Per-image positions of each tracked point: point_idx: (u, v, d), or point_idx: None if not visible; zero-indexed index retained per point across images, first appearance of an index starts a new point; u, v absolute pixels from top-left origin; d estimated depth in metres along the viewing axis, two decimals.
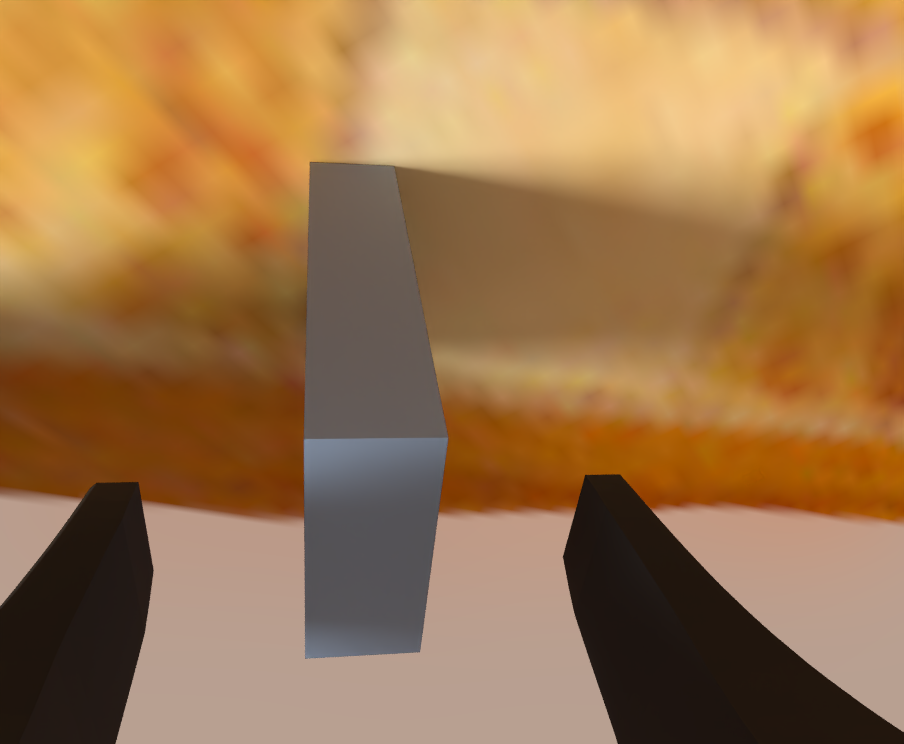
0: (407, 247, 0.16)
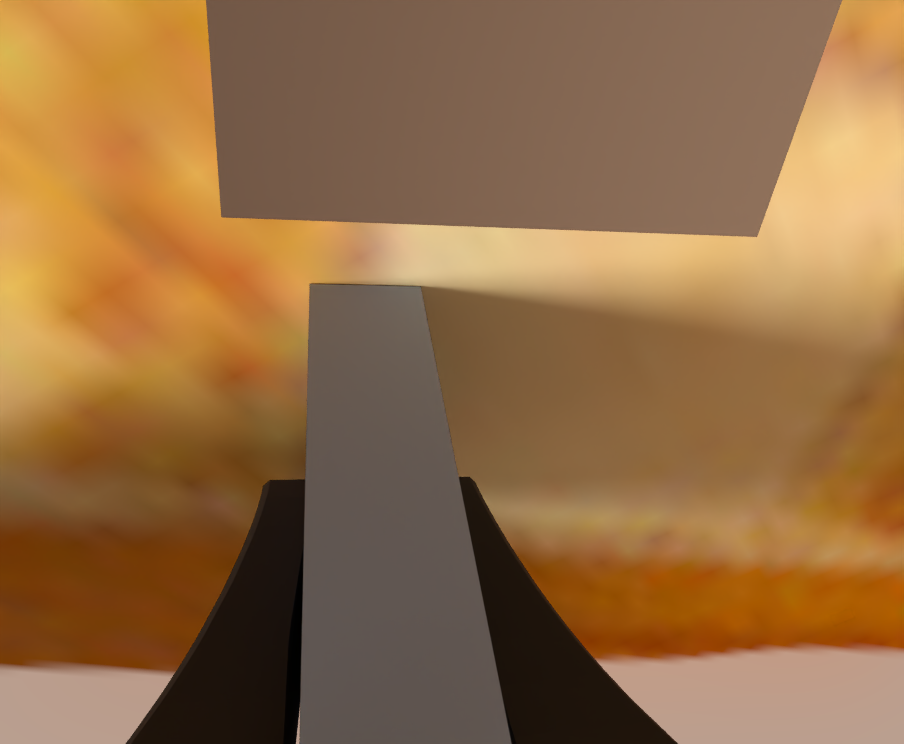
0: (446, 437, 0.11)
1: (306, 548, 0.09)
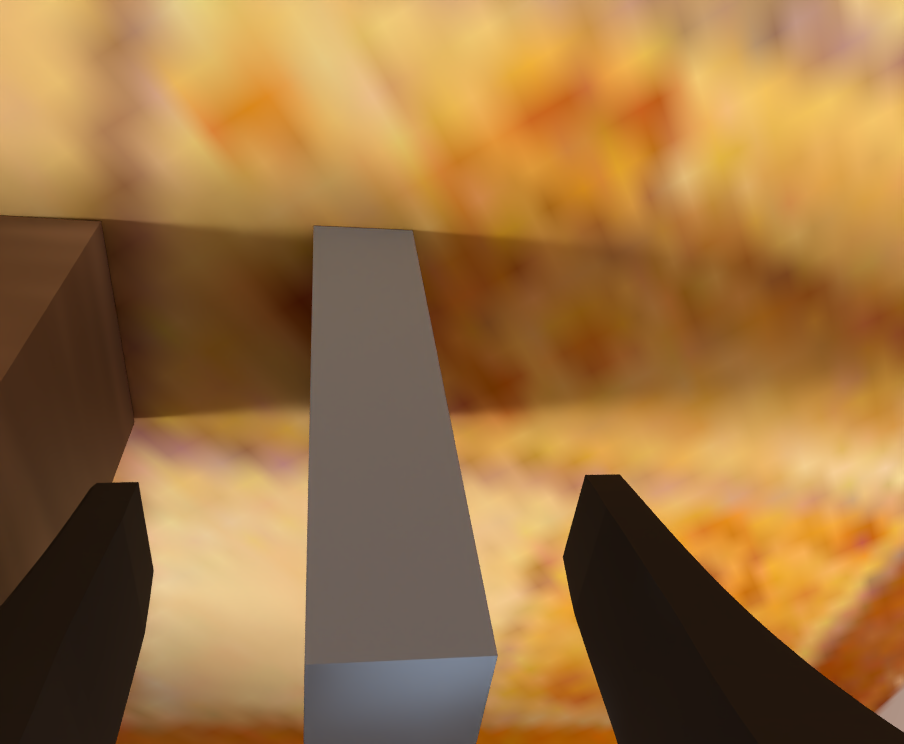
0: (431, 345, 0.13)
1: (311, 422, 0.11)
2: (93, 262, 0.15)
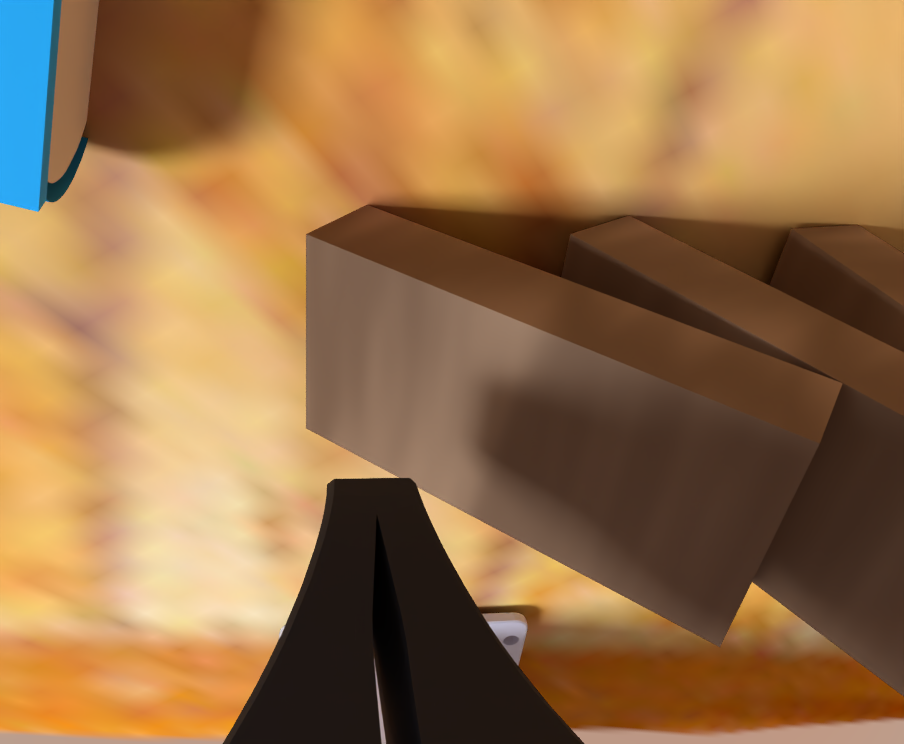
0: None
1: None
2: None
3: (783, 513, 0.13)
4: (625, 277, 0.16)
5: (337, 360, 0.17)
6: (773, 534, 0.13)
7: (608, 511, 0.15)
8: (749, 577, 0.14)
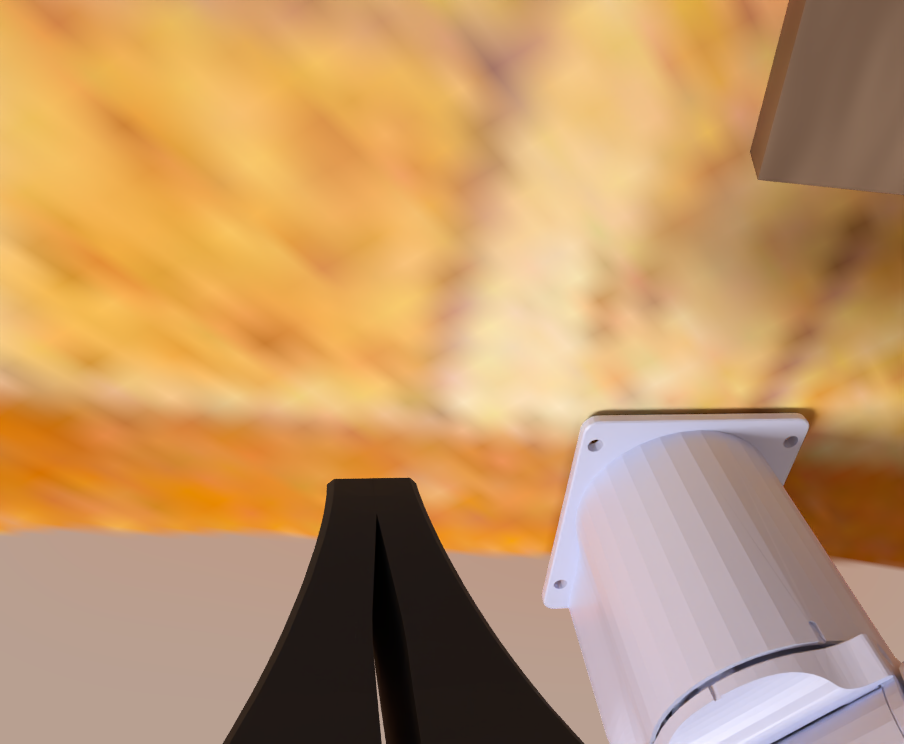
0: None
1: None
2: None
3: None
4: None
5: (822, 87, 0.18)
6: None
7: None
8: None
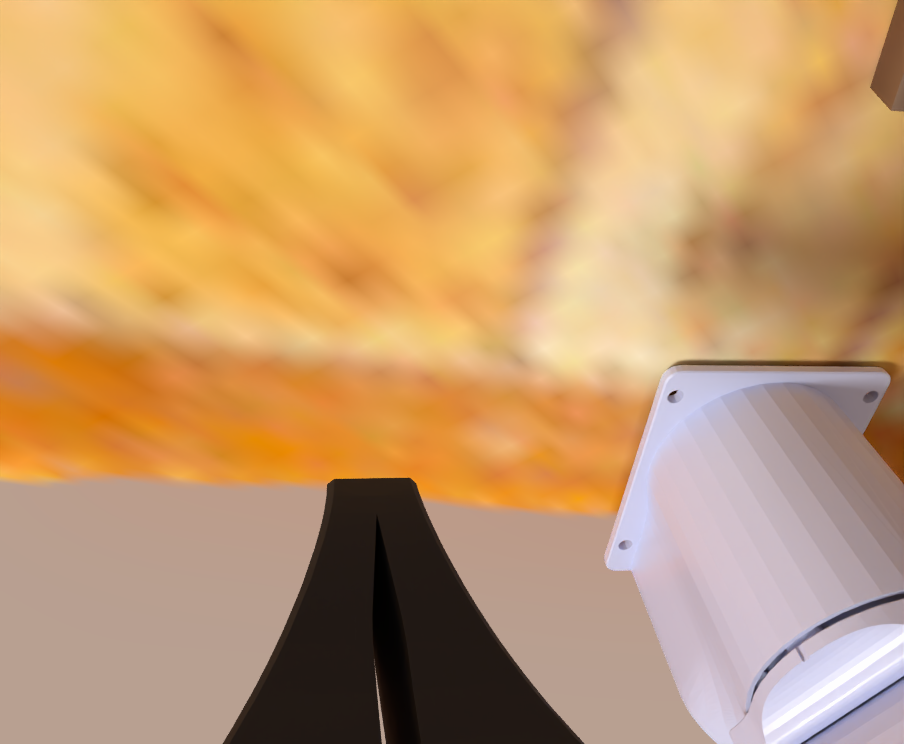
0: None
1: None
2: None
3: None
4: None
5: None
6: None
7: None
8: None
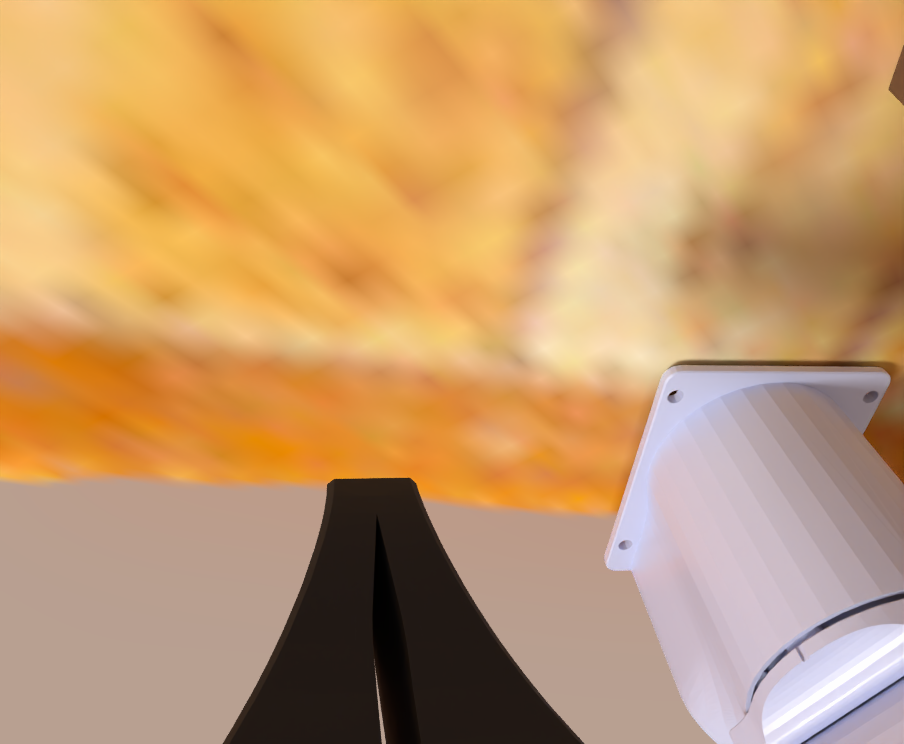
0: None
1: None
2: None
3: None
4: None
5: None
6: None
7: None
8: None
